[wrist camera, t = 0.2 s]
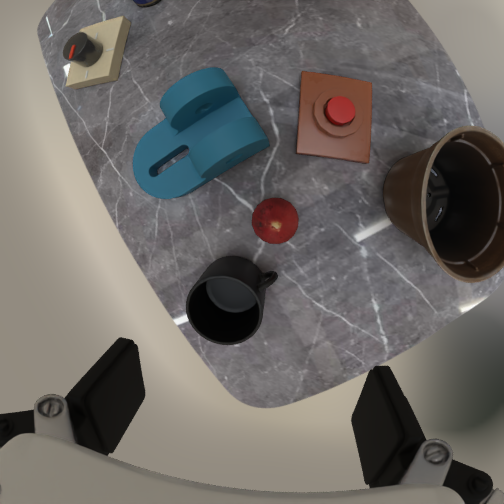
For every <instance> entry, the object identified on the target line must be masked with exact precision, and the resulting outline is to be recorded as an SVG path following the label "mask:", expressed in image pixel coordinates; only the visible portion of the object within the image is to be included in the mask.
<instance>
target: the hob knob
mask: <svg viewBox="0 0 504 504" xmlns="http://www.w3.org/2000/svg"><path fill="white" fill-rule="evenodd" d="M102 53H103V45H102V43H100V42H99V41H97V40H96V39H94V38H93V37H91V36H89V35H88V34H86V33H84V32H79V33H77V34H75V35H74V36H72V37H71V38H70V39H69V40H68V42H67V43H66V45H65V47H64V50H63V56H64V58H65V59H67V60H69V61H71V62H73V63H76V64H78V65H80V66H82V67H90V66H92V65H94V64H95V63H96V62H97V61H98V60H99V58H100V57H101V55H102Z"/></svg>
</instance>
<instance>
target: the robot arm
mask: <svg viewBox="0 0 504 504" xmlns="http://www.w3.org/2000/svg"><path fill="white" fill-rule="evenodd" d="M144 398H145V388H144V382H143V377H142V371H141V365H140V359H139V352H138V346H137V345H136V344H134V341H133V340H130V339H126V338H122V337H121V338H118V339H117V340H116V342H115V343H114V344H113V345H112V346H111V347H110V348H109V349H108V350H107V351H106V352H105V353H104V354H103V356H102V357H101V358H100V359H99V360H98V361H97V362H96V363H95V364H94V365H93V366H92V367H91V368H90V370H89V371H88V372H87V373H86V374H85V375H84V376H83V377H82V378H81V380H80V381H79V382H78V383H77V384H76V385H75V386H74V387H73V389H71V391H70V392H69V393H68V395H67V396H66V397H65V398H63V397H61V396H59V395H56V394H48V395H44V396H42V397H40V398H39V399H38V400H37V401H36V403H35V405H34V410H29V411H22V412H15V413H6V414H0V504H504V493H503V492H502V491H501V490H499V489H498V488H496V489H495V490H494V489H492V488H493V482H492V479H491V477H490V476H489V475H488V474H487V473H485V472H483V471H480V470H478V469H475V468H473V467H470V466H467V465H465V464H463V463H460V462H458V461H455V460H453V451H452V449H451V447H450V445H448V444H447V443H446V442H445V441H443V440H439V439H429V440H426V438H425V436H424V434H423V432H422V429H421V427H420V425H419V423H418V421H417V419H416V417H415V415H414V412H413V410H412V408H411V406H410V404H409V402H408V400H407V398H406V397H405V396H404V394H403V392H402V390H401V388H400V386H399V384H398V382H397V380H396V378H395V376H394V374H393V372H392V371H391V369H390V367H389V366H375V367H374V368H373V369H372V370H370V371H369V373H368V376H367V378H366V381H365V384H364V387H363V389H362V392H361V395H360V397H359V400H358V402H357V405H356V407H355V410H354V412H353V414H352V419H351V422H352V426H353V431H354V435H355V439H356V444H357V448H358V453H359V457H360V462H361V466H362V471H363V476H364V481H365V483H366V484H367V485H368V484H369V486H370V488H369V489H360V490H349V491H336V492H311V493H310V492H309V493H297V492H295V493H294V492H269V491H256V490H246V489H237V488H229V487H222V486H216V485H210V484H204V483H199V482H194V481H189V480H185V479H180V478H176V477H172V476H168V475H164V474H160V473H157V472H153V471H150V470H147V469H143V468H140V467H137V466H134V465H131V464H128V463H125V462H122V461H119V460H117V459H114V458H111V457H108V454H109V453H113V452H114V450H115V449H116V447H117V445H118V443H119V442H120V440H121V438H122V436H123V435H124V433H125V431H126V430H127V428H128V426H129V424H130V423H131V421H132V419H133V417H134V416H135V414H136V412H137V411H138V409H139V407H140V405H141V404H142V402H143V400H144Z"/></svg>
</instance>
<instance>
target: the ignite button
mask: <svg viewBox="0 0 504 504" xmlns="http://www.w3.org/2000/svg"><path fill="white" fill-rule="evenodd" d="M325 113H326V116H327V118H328V119H329V121H331V122H332V123H333V124H336V125H345V124H347V123H349V122H350V121H351V120H352V119H353V118H354V116H355V107H354V105H353V103H352V102H351V101H350V100H349V99H348V98H346V97H342V96H337V97H334V98H332V99H331V100H330V101H329V102H328V104H327V106H326V109H325Z"/></svg>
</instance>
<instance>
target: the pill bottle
mask: <svg viewBox="0 0 504 504" xmlns="http://www.w3.org/2000/svg"><path fill="white" fill-rule="evenodd" d="M133 1H134V2H135V3H136V4H137V5H138V6H141V7H145V6H146V7H148V6H152V5H154V4H156V3H157V2H159V1H160V0H133Z"/></svg>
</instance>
